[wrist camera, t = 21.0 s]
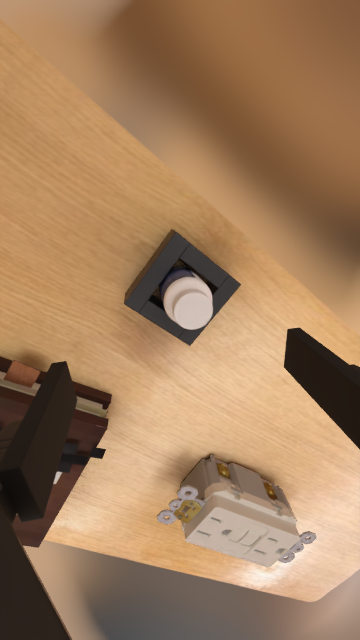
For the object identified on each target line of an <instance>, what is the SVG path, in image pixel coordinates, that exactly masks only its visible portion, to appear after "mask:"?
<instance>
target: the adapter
mask: <svg viewBox="0 0 360 640" xmlns="http://www.w3.org/2000/svg"><path fill="white" fill-rule="evenodd" d="M179 258H180V259H181V260H182V261H184V262H185V263H186V264H188V265H189V266H190V267H192V268H193V269H194V270H195V271H197V272H198V273H199V274H201V275H202V276H203V277H204V278H206V279H207V280H208V281H209V282H208V284H207V286H208V287H209V289H210V291H211V294H212V300H213V301H212V306H213V313H212V316H211V319H210V320H209V321H208V323H207V324H206V325H204V326H203V327H201V328H198V329H193V330H190V329H185V328H183V327H181V326H180V325H179V324H178V323H176V322H174V321H173V320H172V319H171V318H170V317H169V316H168V315H167V313H166V311H165V308H164V305H163V302H162V300H160V299H159V298H157V297H156V296H154V295H153V292H154V291H155V290H156V288H157V287H158V286H159V284H160V283H161V282H162V280H163V279H164V278H165V276H166V275H167V274H168V272H169V271H170V270H171V268H172V267H173V266H174V264H175V263H176V262H177V260H178V259H179ZM240 285H241V284H240V283H239V282H237V281H236V280H235V279H234V278H233V277H231V276H230V275H229V274H228V273H226V272H225V271H224V270H223V269H221V268H220V267H219V266H218V265H216V264H215V263H214V262H213V261H212V260H210V259H209V258H208V257H207V256H205V255H204V254H203V253H202V252H200V251H199V250H198V249H197V248H195V247H194V246H193V245H192V244H191V243H189V242H188V241H187V240H186V239H184V238H183V237H182V236H181V235H179V234H178V233H177V232H175V231H174V230H171V231H170V232H169V234H168V235H167V236H166V238H165V239H164V241H163V242H162V243H161V245H160V246H159V247H158V249H157V250H156V252H155V253H154V254H153V256H152V257H151V259H150V260H149V261H148V263H147V264H146V266H145V267H144V268H143V270H142V271H141V273H140V274H139V275H138V277H137V278H136V280H135V281H134V282H133V284H132V285H131V287H130V288H129V289H128V291H127V292H126V294H125V301H124V304H125V305H127V306H128V307H130V308H131V309H133V310H134V311H136V312H138V313H139V314H141V315H142V316H144V317H145V318H147V319H149V320H150V321H152V322H153V323H155V324H156V325H158V326H160V327H161V328H163V329H164V330H166V331H167V332H169V333H171V334H172V335H174V336H175V337H177V338H178V339H180V340H181V341H183V342H185V343H186V344H188V345H189V346H190V345H191V344H192V343H193V342H194V341H195V339H196V338H197V337H198V336H199V335H200V333H201V332H202V331H203V330H204V328H205V327H206V326H207V325H208V324H209V322H210V321H211V320H212V319H213V318H214V316H215V315H216V314H217V313H218V312H219V310H220V309H221V308H222V307H223V306H224V304H225V303H226V302H227V301H228V300H229V298H230V297H231V296H232V295H233V294H234V292H235V291H236V290H237V289H238V288H239V286H240Z"/></svg>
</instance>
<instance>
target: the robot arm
mask: <svg viewBox="0 0 360 640" xmlns="http://www.w3.org/2000/svg"><path fill="white" fill-rule="evenodd" d="M284 368H285V369H286V370H287V371H288V372H289V373H290V374H291V375H292V376H293V377H294V379H295V380H296V381H297V382H298V383H299V384H300V385H301V386H302V387H303V388H304V389H305V391H306V392H307V393H308V394H309V395H310V396H311V397H312V398H313V399H314V400H315V401H316V402H317V404H318V405H319V406H320V407H321V408H322V409H323V410H324V411H325V412H326V413H327V414H328V415H329V417H330V418H331V419H332V420H333V421H334V422H335V423H336V424H337V425H338V426H339V427H340V428H341V430H342V431H343V432H344V433H345V434H346V435H347V436H348V437H349V438H350V439H351V440H352V441H353V443H354V444H355V445H356V446H357V447H358V448H359V449H360V367H358V366H356V365H354V364H353V365H349V364H348V363H346V362H345V361H344V360H342V359H341V358H340V357H338V356H337V355H335V354H334V353H333V352H331V351H330V350H329V349H327V348H326V347H325V346H323V345H322V344H321V343H319V342H318V341H317V340H315V339H314V338H313V337H311V336H310V335H309V334H307V333H306V332H305V331H303V330H302V329H301V328H293V329H288V330H287V340H286V351H285V361H284ZM77 401H78V400H77V396H76V393H75V389H74V386H73V383H72V379H71V376H70V372H69V369H68V366H67V362H66V361H64V362H57V363H52V364H51V366H50V368H49V370H48V372H47V374H46V376H45V377H44V379H43V381H42V383H41V385H40V387H39V389H38V391H37V393H36V395H35V397H34V399H33V400H32V402H31V404H30V406H29V408H28V410H27V412H26V414H25V416H24V418H23V420H17V421H11V422H10V423H9V424H8V425H7V426H6V427H5V428H4V429H3V430H2V431H1V432H0V640H72V638H71V636H70V634H69V632H68V631H67V629H66V627H65V625H64V623H63V621H62V619H61V617H60V615H59V614H58V612H57V610H56V608H55V606H54V604H53V602H52V600H51V598H50V596H49V594H48V593H47V591H46V589H45V587H44V585H43V583H42V581H41V579H40V577H39V576H38V574H37V572H36V570H35V568H34V566H33V564H32V562H31V560H30V558H29V557H28V555H27V553H26V551H25V549H24V547H23V545H22V543H21V541H20V539H19V538H18V536H17V534H16V532H15V530H14V528H13V526H12V524H13V522H14V519H15V517H16V514H17V515H18V517H19V518H20V520H21V522H22V523H23V522H28V521H32V520H37V519H42V518H44V514H45V511H46V507H47V504H48V500H49V497H50V494H51V490H52V487H53V483H54V480H55V476H56V473H57V469H58V466H59V463H60V459H61V456H62V452H63V449H64V445H65V442H66V439H67V435H68V432H69V428H70V425H71V421H72V418H73V414H74V411H75V408H76V404H77Z"/></svg>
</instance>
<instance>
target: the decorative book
mask: <svg viewBox="0 0 360 640" xmlns="http://www.w3.org/2000/svg"><path fill="white" fill-rule="evenodd" d="M46 374H47V373H46V372H43V371H40V370H37V369H35V368H32V367H29V366H27V365H25V364H22V363H20V362H17V361H15V360H14V361H11V360H8V359H5V358H2V357H0V432H1V431H2V430H3V429H4V428H5V427H6V426H7V425H8V424H9V423H10V422H11V421H17V420H23V418H24V416H25V414H26V412H27V410H28V408H29V406H30V404H31V402H32V400H33V399H34V397H35V395H36V393H37V391H38V389H39V387H40V385H41V383H42V381H43V379H44V377H45V376H46ZM72 383H73V386H74V389H75V393H76V396H77V400H78V401H77V404H76V408H75V411H74V414H73V418H72V421H71V425H70V428H69V432H68V435H67V439H66V442H65V445H64V449H63V452H62V456H61V459H60V463H59V466H58V469H57V473H56V476H55V480H54V483H53V487H52V490H51V494H50V497H49V500H48V504H47V507H46V511H45V514H44V518H42V519H37V520H32V521H28V522H23V523H22V522H21V520H20V518H19V517H18V515H17V514H16V517H15V519H14V522H13V524H12V526H13V528H14V530H15V532H16V534H17V536H18V538H19V539H20V541H21V543H22V545H24V546H31V547H39V546H40V544H41V542H42V540H43V539H44V537H45V535H46V534H47V532H48V530H49V528H50V527H51V525H52V523H53V522H54V520H55V518H56V516H57V515H58V513H59V511H60V509H61V508H62V506H63V504H64V502H65V501H66V499H67V497H68V495H69V494H70V492H71V490H72V489H73V487H74V485H75V483H76V482H77V480H78V478H79V476H80V475H81V473H82V471H83V469H84V468H85V466H86V464H87V463H88V461H89V459H90V457H94V458H101V459H102V458H103V456H104V453H105V451H106V449H101V448H96V447H97V445H98V443H99V442H100V440H101V438H102V437H103V435H104V433H105V431H106V430H107V426H108V419H107V418H105V416H106V414H107V413H108V411H107V408H108V406H109V404H110V403H111V396H112V395H111V394H108V393H105V392H102V391H99V390H96V389H93V388H90V387H87V386H84V385H82V384H79V383H76V382H73V381H72Z"/></svg>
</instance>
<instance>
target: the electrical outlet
mask: <svg viewBox="0 0 360 640" xmlns="http://www.w3.org/2000/svg"><path fill="white" fill-rule="evenodd" d="M180 486H181V488H180V489H179V491H178V492H177V495H178V498H179V499H175V500H172V501H171V502H170V503H169V507H170V509H171V510H172V511H171V510H168V509H167V510H163V511H161V512H160V513H159V514H158V515H157V519H158V522H161V523H164V524H171V523H173V522H174V521H175V520H176V518H177V519H179V520H181V522H182V530H183V531H184V533H185V541H186V542H188V543H192V544H195V545H198V546H201V547H204V548H208V549H211V550H214V551H217V552H220V553H224V554H227V555H230V556H233V557H236V558H240V559H243V560H246V561H249V562H252V563H256V564H259V565H262V566H265V567H270V566H272V565H273V564H274V563H275V562H276V561H277V560H279V561H281V562H284V563H287V562H290V561H291V560H293V559H294V558H295V555H294V553H293V552H295V553H296V552H300V551H301V550H303V549H304V546H303V544H302V543H304V544H309V543H312V542H313V541H314V540H315V539H316V534H315V533H312V532H310V531H308V532H304V533H302V534H301V535H299V533H298V531H297V529H296V527H295V526H296V522H297V520H296V518H295V516H294V514H293V512H292V509H291V507H290V505H289V503H288V501H287V499H286V497H285V495H284V493H283V490H282V489H281V488H279V486H278V485H277V486H275V484H274V483H271V482H268V481H266V480H263V479H261V477H260V475H259V474H258V473H255V472H253V471H251V470H248V469H246V468H244V467H241V466H239V465H237V464H234V463H231V464H228V465H227V464H226V463H224V462H221V461H219V460H217V459H215V458H214V454H213V455H210V458H209V459H208V460H206V459H202V460H201V461H200V462H199V463H198V464H197V465H196V467H195V468H194V469H193V470H192V471H191V473H190V474H189V475H188V476H187V477H186V479H185V480H184V481H183V482H182V483H181V485H180ZM174 505H178V506H174ZM165 516H170V518H168V519H165V518H164V517H165ZM308 536H310V537H309V538H306V537H308ZM286 556H288V557H287V558H284V557H286Z"/></svg>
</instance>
